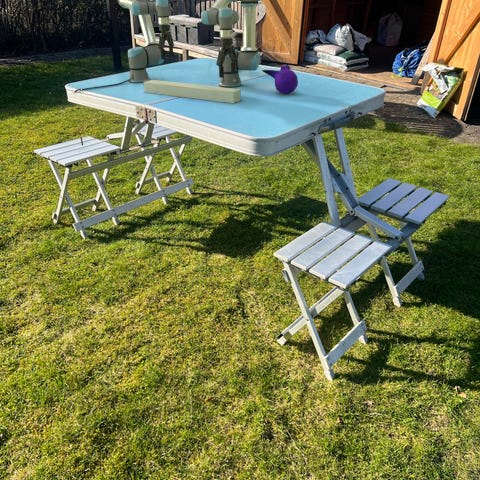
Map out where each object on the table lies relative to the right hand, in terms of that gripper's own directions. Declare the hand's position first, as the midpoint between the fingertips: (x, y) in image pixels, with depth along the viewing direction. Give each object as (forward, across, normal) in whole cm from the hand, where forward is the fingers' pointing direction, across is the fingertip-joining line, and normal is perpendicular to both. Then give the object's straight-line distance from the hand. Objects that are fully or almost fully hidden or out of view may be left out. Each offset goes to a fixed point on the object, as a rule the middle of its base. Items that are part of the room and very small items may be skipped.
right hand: (227, 75), depth 273 cm
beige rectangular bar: (+15, 0, +29) cm, 33 cm away
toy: (+15, +36, -19) cm, 43 cm away
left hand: (-4, +19, +62) cm, 65 cm away
